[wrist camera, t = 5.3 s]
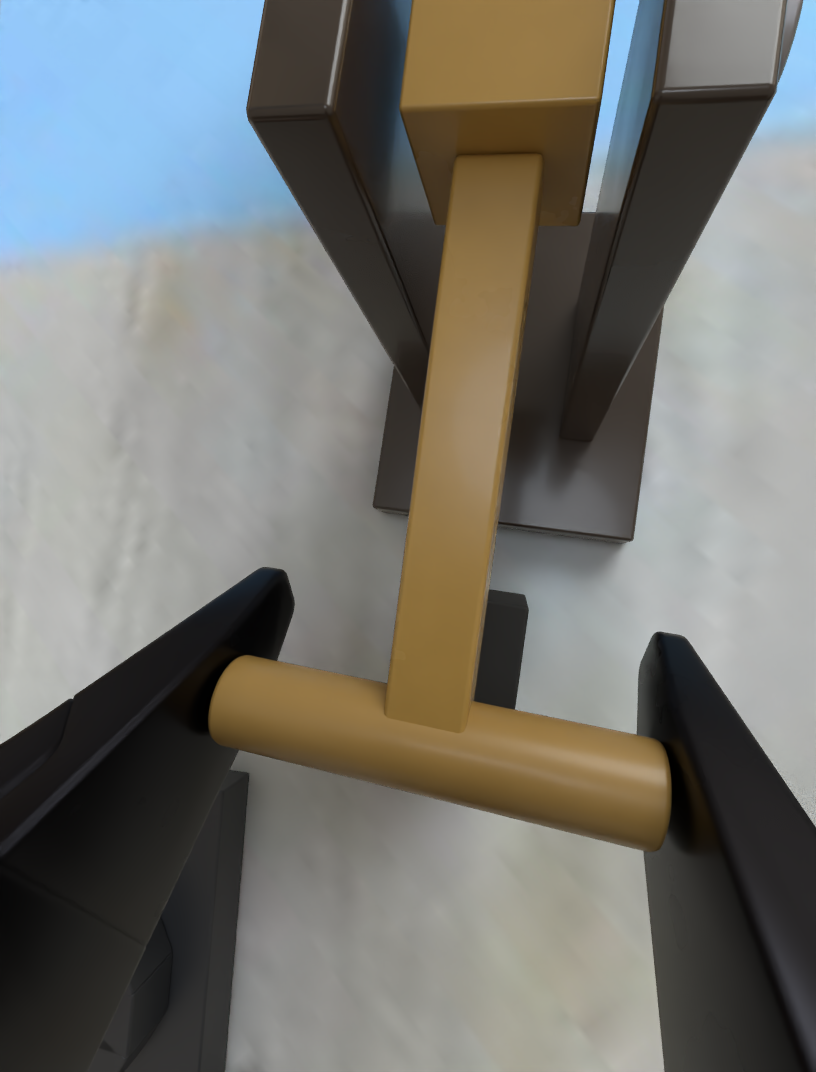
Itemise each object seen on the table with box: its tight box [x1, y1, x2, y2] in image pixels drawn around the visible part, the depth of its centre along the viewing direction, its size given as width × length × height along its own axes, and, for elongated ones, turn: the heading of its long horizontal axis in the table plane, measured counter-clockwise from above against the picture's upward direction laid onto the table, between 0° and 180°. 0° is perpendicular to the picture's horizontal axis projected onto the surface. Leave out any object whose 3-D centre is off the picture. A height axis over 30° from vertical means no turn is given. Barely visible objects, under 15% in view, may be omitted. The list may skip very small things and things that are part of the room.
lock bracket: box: [246, 0, 803, 544], centre depth 11 cm, size 10×8×13 cm
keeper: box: [474, 589, 529, 710], centre depth 14 cm, size 3×2×7 cm
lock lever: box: [208, 0, 672, 852], centre depth 7 cm, size 11×6×2 cm, turn 171°
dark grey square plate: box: [88, 770, 249, 1072], centre depth 17 cm, size 12×9×4 cm
